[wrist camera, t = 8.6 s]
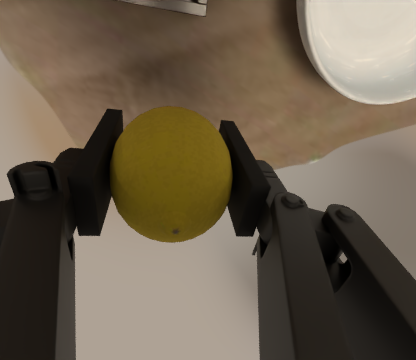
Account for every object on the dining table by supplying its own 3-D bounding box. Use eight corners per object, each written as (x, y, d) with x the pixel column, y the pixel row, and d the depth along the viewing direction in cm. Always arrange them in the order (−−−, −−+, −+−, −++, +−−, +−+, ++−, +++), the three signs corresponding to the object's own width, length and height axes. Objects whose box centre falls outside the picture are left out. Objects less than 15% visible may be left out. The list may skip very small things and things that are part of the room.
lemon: (192, 182, 17) (207, 289, 11) (112, 154, 15) (69, 264, 9) (233, 113, 15) (286, 198, 8) (143, 67, 13) (118, 131, 6)
